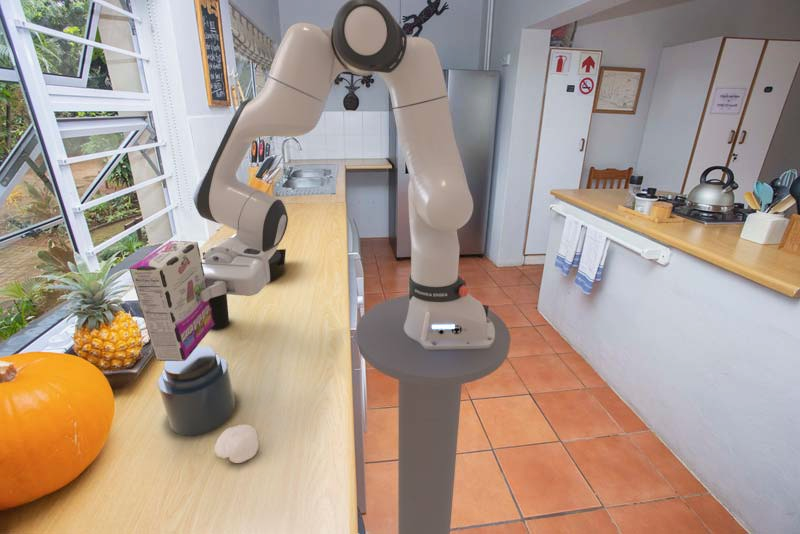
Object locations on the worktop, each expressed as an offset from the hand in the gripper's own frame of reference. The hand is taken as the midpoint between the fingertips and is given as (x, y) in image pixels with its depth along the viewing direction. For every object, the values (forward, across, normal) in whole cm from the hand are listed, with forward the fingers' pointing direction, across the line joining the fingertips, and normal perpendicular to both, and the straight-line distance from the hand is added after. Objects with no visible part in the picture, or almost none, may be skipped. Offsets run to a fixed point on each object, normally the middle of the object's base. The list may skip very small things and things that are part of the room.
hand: (182, 296), depth 64 cm
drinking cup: (-27, -15, +24) cm, 39 cm away
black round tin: (-60, -19, +24) cm, 68 cm away
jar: (+2, 0, +23) cm, 23 cm away
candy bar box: (+2, 0, +8) cm, 8 cm away
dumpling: (+9, +11, +24) cm, 28 cm away
